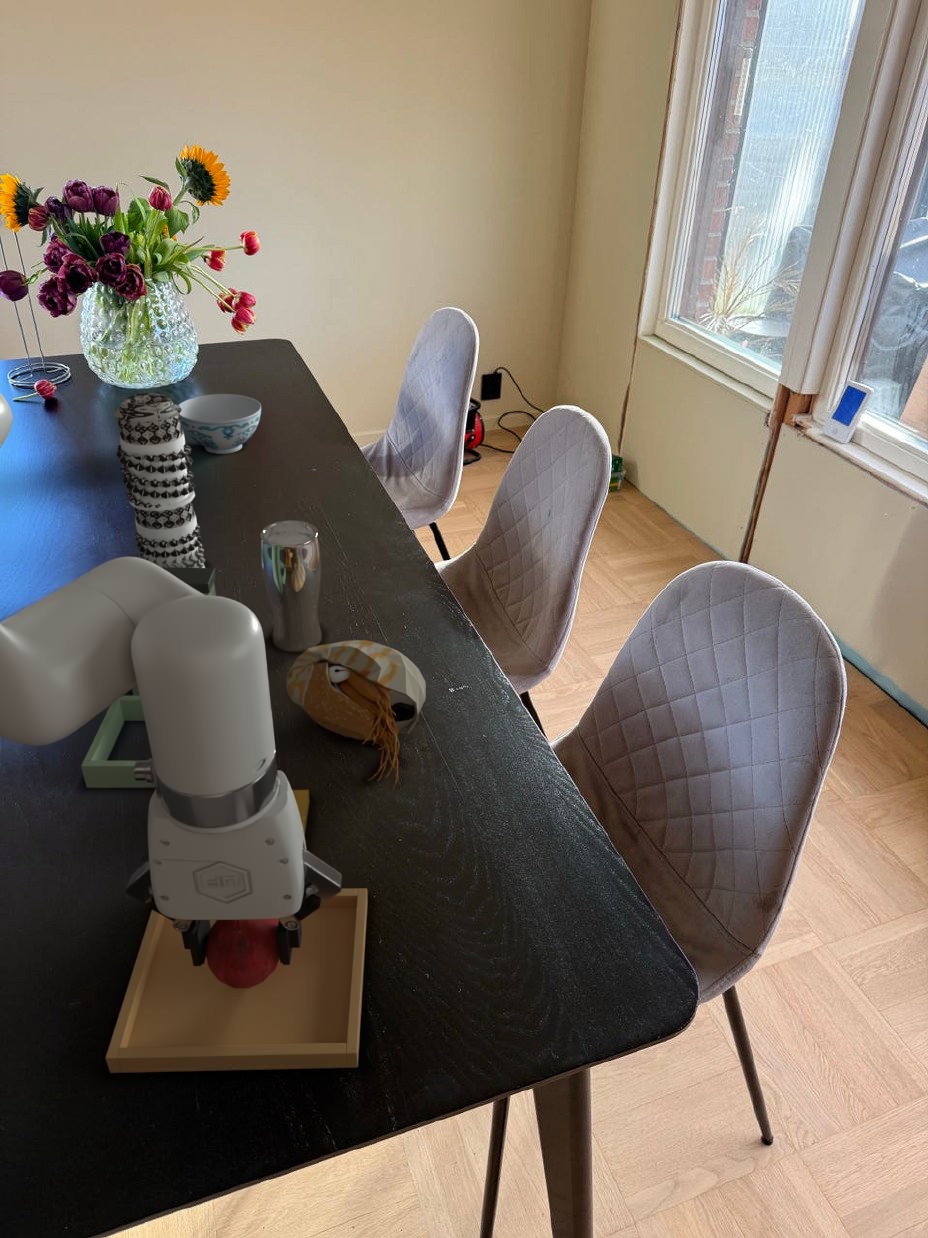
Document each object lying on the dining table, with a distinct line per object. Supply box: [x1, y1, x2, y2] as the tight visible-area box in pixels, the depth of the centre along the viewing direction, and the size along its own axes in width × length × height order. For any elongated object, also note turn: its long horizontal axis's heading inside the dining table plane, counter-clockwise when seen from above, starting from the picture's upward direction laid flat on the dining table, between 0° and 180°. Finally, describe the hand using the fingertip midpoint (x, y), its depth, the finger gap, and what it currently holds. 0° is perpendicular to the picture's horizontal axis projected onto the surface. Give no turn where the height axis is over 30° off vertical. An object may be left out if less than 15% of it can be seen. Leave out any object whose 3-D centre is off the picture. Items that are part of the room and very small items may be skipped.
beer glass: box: [260, 520, 323, 653], centre depth 104 cm, size 7×7×15 cm
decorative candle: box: [113, 392, 206, 568], centre depth 113 cm, size 9×9×25 cm
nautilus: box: [285, 639, 427, 790], centre depth 91 cm, size 8×22×15 cm
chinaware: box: [177, 393, 262, 455], centre depth 157 cm, size 15×15×8 cm
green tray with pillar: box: [80, 567, 217, 789], centre depth 88 cm, size 11×18×15 cm, turn 3°
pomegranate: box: [206, 918, 280, 989], centre depth 65 cm, size 6×6×8 cm
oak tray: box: [105, 888, 368, 1074], centre depth 67 cm, size 18×15×2 cm
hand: (245, 947), depth 66 cm, fingers closed on pomegranate, 5 cm apart
